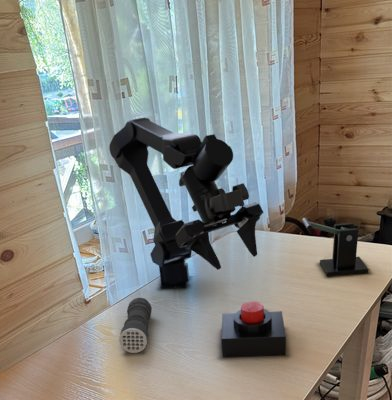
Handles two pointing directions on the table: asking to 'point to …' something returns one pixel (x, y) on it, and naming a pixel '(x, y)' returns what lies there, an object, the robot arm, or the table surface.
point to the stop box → (253, 336)
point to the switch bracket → (344, 254)
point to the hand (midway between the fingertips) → (237, 262)
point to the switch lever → (320, 226)
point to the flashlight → (136, 326)
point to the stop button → (252, 312)
